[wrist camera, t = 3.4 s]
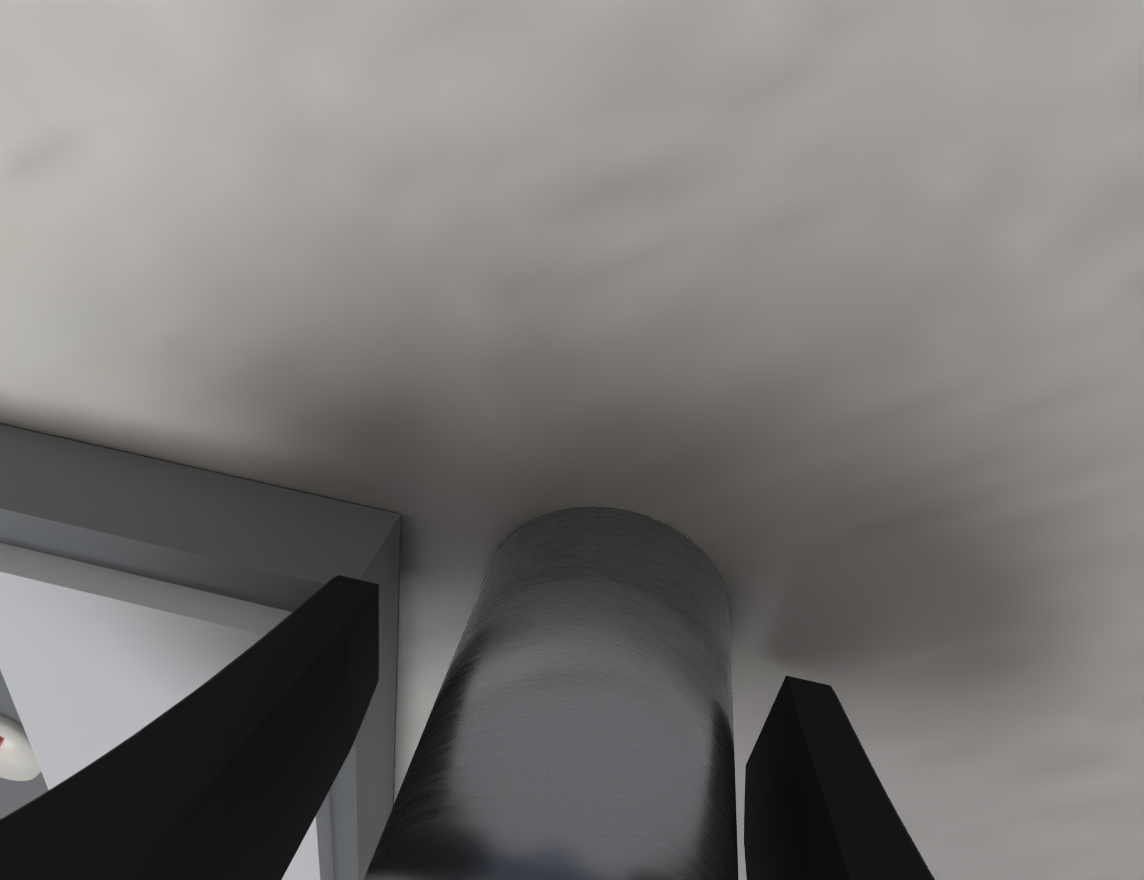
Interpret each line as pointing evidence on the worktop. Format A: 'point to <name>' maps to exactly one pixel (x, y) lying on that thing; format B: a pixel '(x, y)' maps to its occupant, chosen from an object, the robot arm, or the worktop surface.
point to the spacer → (579, 717)
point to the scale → (171, 614)
